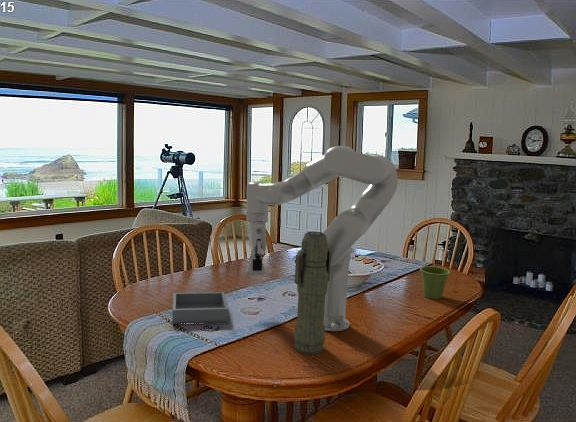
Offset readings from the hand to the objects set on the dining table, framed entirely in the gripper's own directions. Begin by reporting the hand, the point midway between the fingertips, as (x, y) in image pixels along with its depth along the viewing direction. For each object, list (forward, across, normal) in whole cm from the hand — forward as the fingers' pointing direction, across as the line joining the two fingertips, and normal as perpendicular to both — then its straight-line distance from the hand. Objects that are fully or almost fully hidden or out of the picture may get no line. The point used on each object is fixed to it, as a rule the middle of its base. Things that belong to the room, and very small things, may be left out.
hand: (256, 267), depth 184 cm
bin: (+15, -3, +20) cm, 25 cm away
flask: (+2, 0, 0) cm, 2 cm away
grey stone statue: (+16, -34, -11) cm, 39 cm away
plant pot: (+17, +11, -74) cm, 77 cm away
